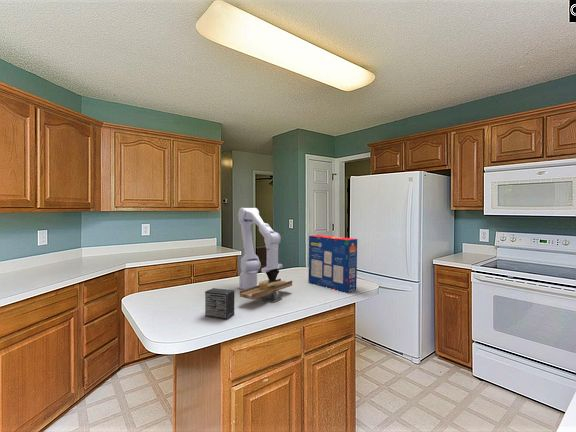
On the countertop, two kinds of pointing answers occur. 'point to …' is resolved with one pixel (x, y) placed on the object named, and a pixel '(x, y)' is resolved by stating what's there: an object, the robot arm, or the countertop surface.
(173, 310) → the countertop surface
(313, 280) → the blue game box
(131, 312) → the countertop surface
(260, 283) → the block
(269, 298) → the fulcrum
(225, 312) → the small box
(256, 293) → the beam
